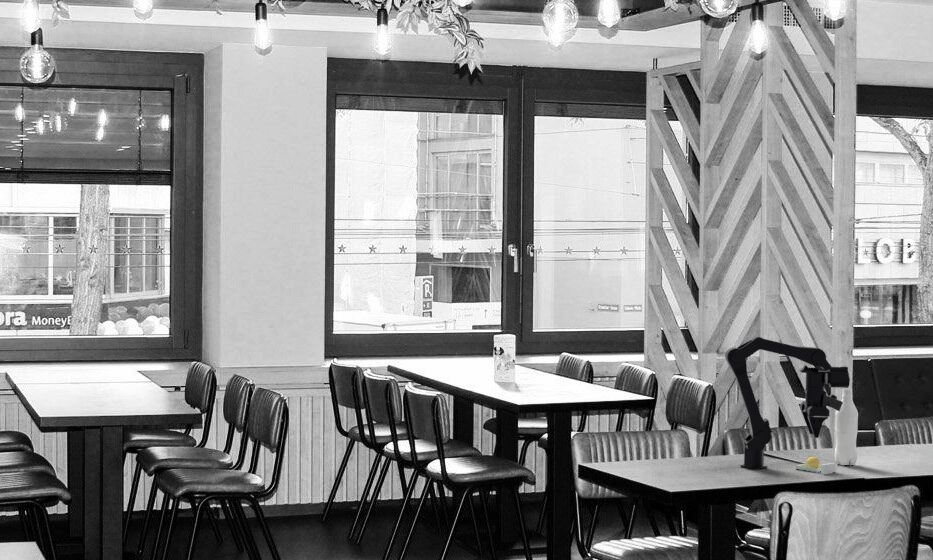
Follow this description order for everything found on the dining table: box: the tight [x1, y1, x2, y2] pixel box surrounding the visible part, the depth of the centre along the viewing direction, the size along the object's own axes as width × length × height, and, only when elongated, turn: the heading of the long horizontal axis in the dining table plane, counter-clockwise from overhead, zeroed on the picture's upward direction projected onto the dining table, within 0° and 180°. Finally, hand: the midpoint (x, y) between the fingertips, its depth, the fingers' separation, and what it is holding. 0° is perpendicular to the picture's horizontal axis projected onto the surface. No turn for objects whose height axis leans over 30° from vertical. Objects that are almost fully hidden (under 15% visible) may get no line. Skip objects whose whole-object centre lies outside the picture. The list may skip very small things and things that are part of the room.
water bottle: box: [834, 388, 859, 466], centre depth 387 cm, size 7×7×25 cm
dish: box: [795, 462, 822, 473], centre depth 375 cm, size 8×8×1 cm
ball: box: [806, 456, 821, 468], centre depth 374 cm, size 4×4×4 cm
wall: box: [820, 462, 837, 475], centre depth 369 cm, size 7×1×3 cm, turn 133°
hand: (814, 435), depth 375 cm, fingers open, 9 cm apart
